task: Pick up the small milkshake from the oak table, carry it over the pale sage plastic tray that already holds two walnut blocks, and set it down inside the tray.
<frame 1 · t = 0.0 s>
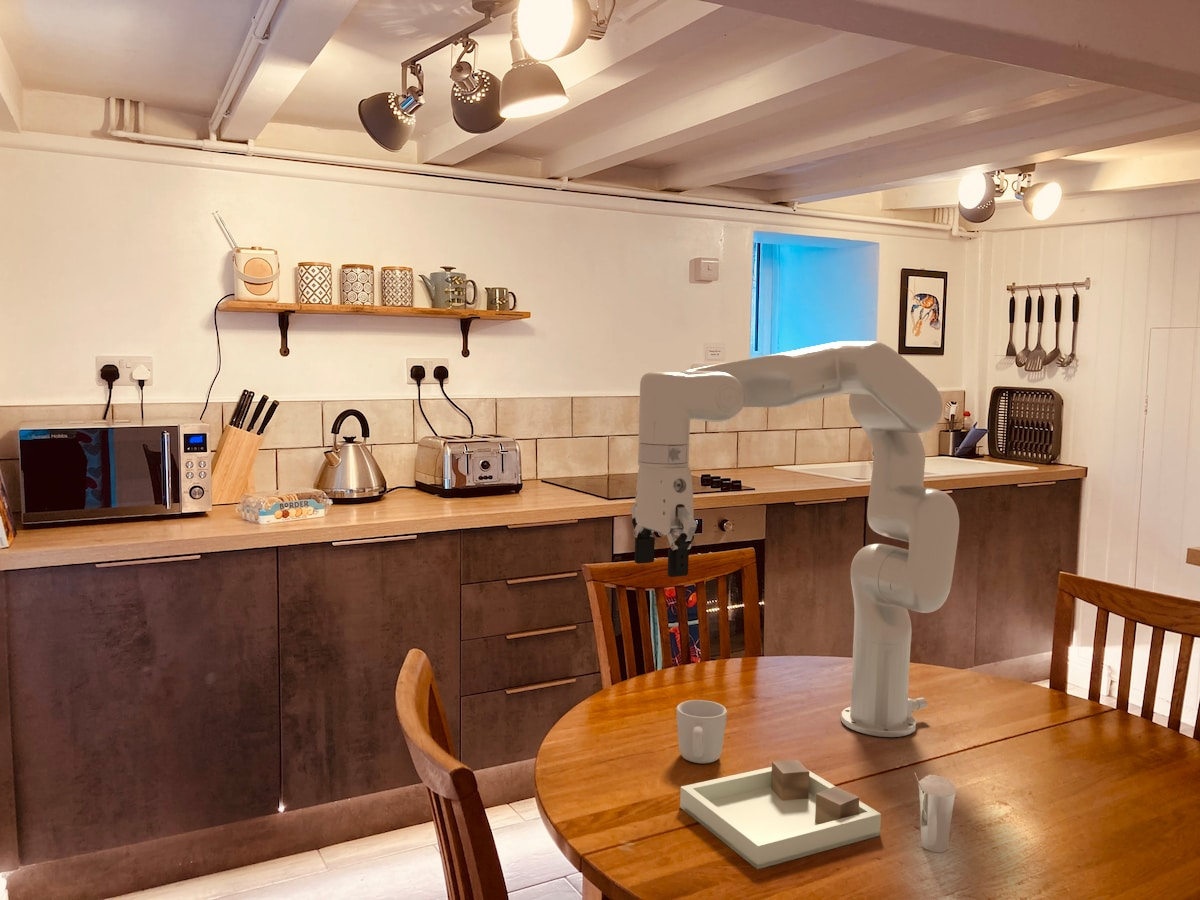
hand: (660, 569, 141), 31 cm above the table, fingers open, 9 cm apart
walnut block b: (789, 793, 135), point 1 cm above the table, touching tray
walnut block a: (836, 824, 126), point 1 cm above the table, touching tray
milkshake: (930, 848, 122), on the table
cup: (699, 762, 147), on the table
tray: (777, 820, 128), on the table
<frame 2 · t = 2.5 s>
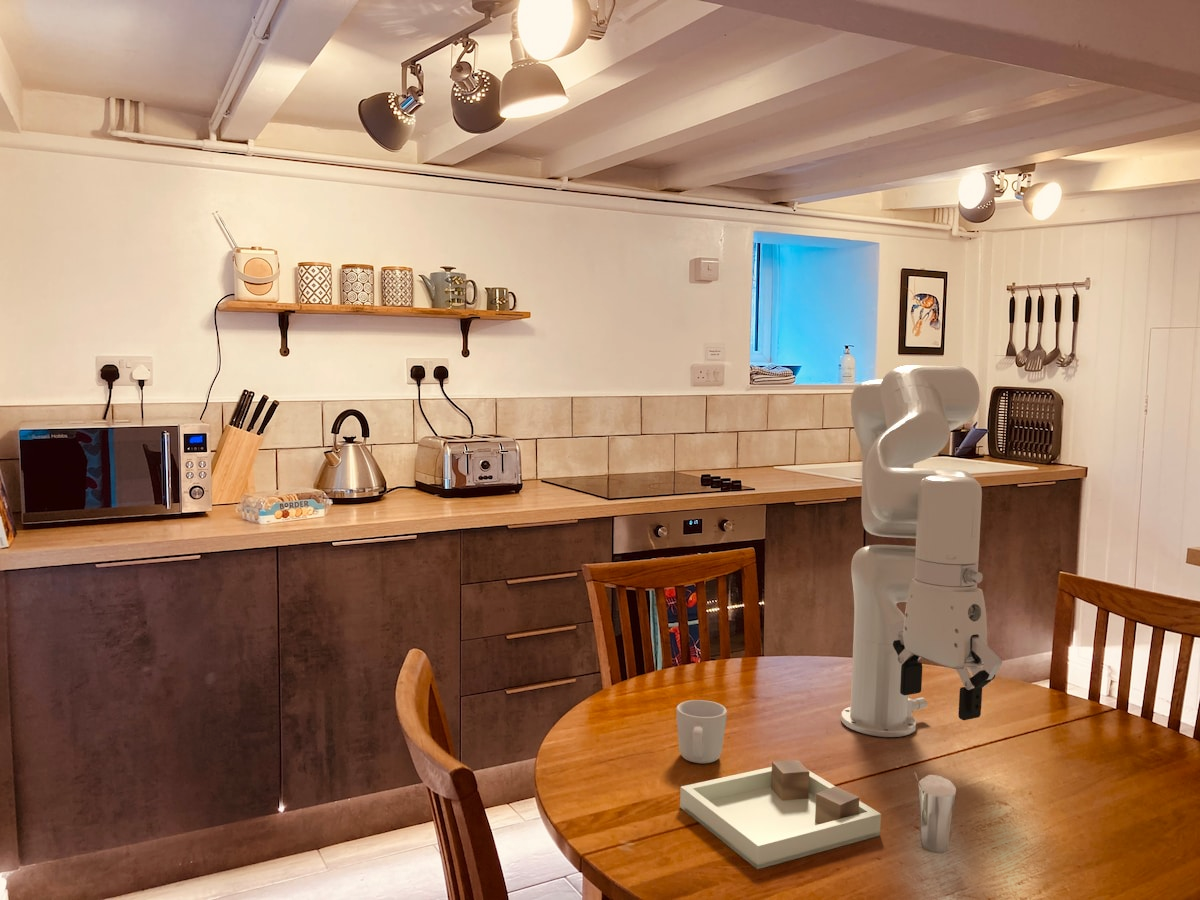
hand: (938, 705, 120), 19 cm above the table, fingers open, 9 cm apart
nothing on the table moved.
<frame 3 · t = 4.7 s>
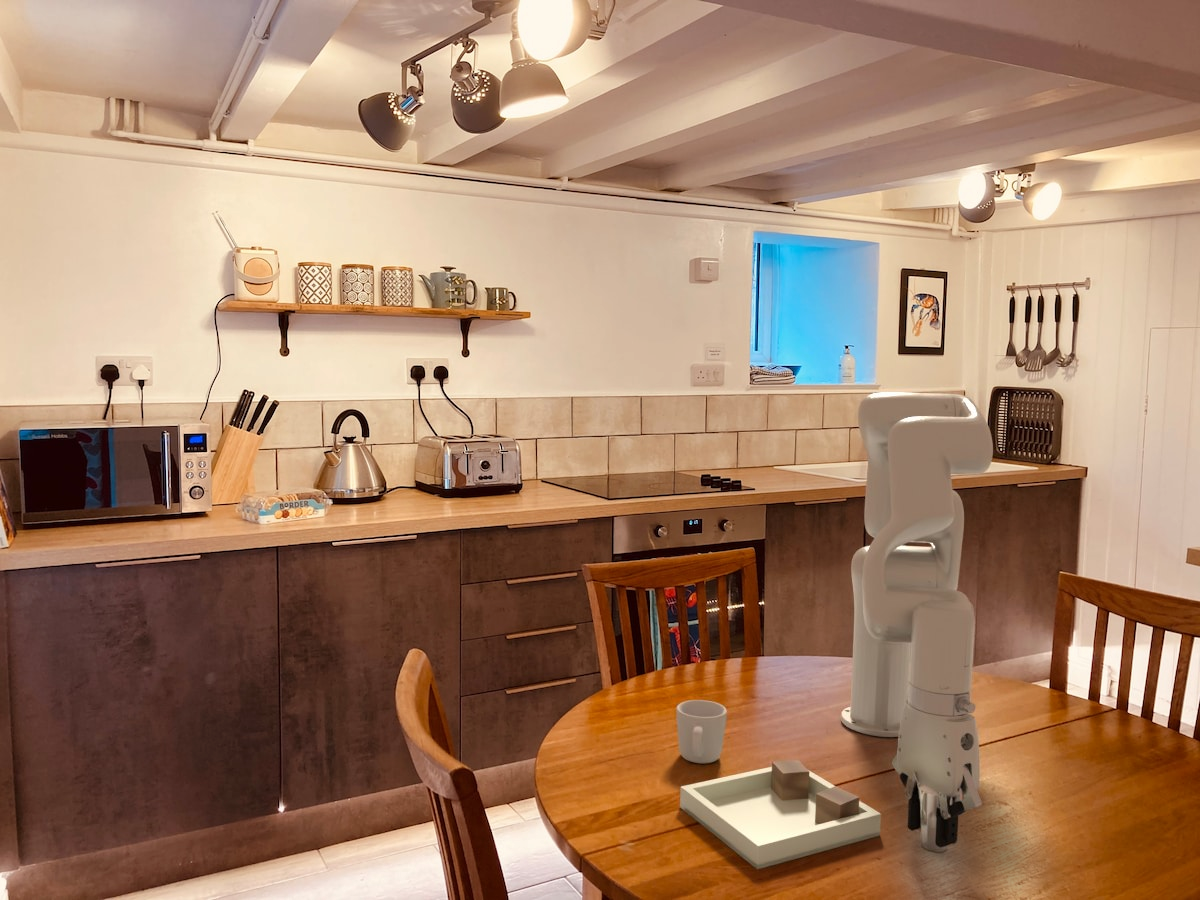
hand: (931, 834, 122), 2 cm above the table, fingers closed on milkshake, 4 cm apart
milkshake: (930, 847, 122), on the table, touching gripper
everything else where it was.
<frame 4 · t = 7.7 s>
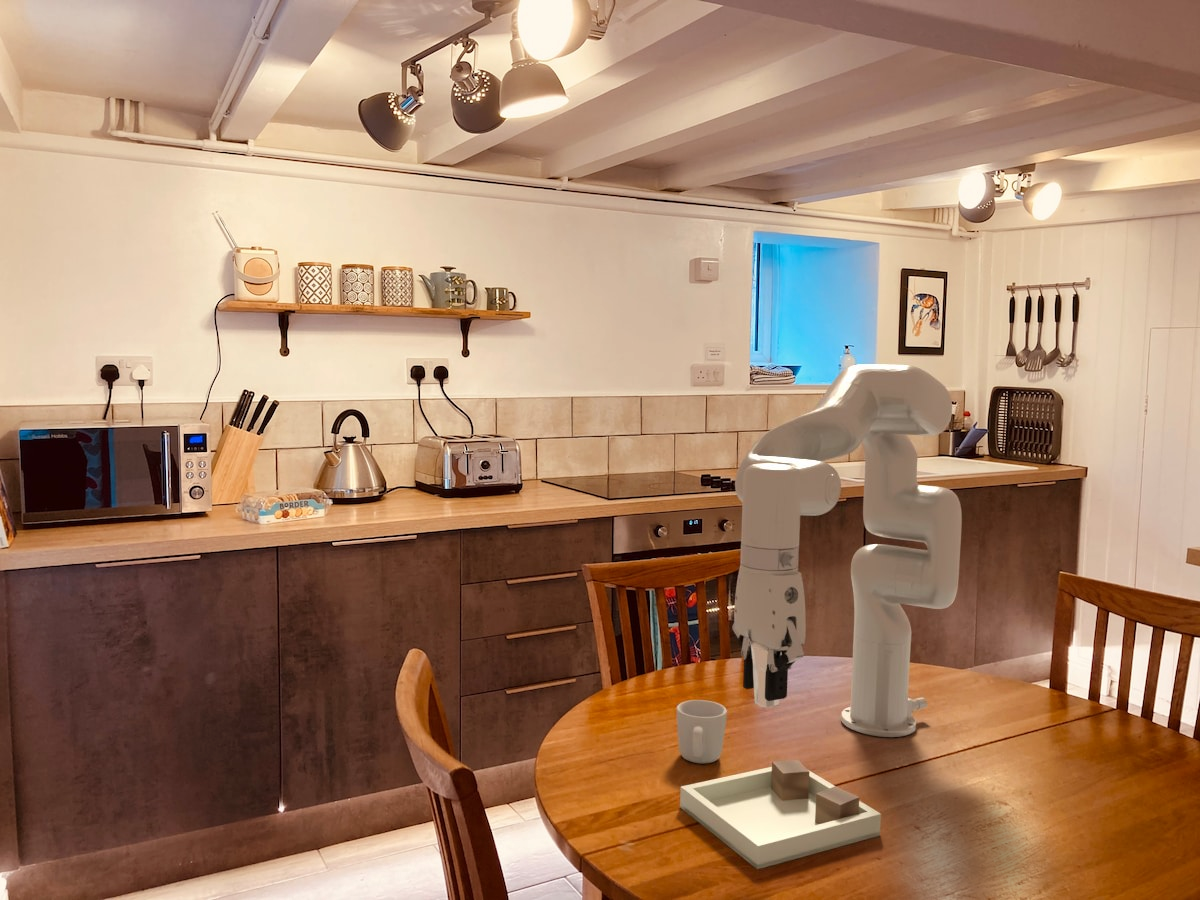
hand: (764, 691, 125), 19 cm above the table, fingers closed on milkshake, 4 cm apart
milkshake: (763, 704, 125), point 17 cm above the table, touching gripper
everything else where it was.
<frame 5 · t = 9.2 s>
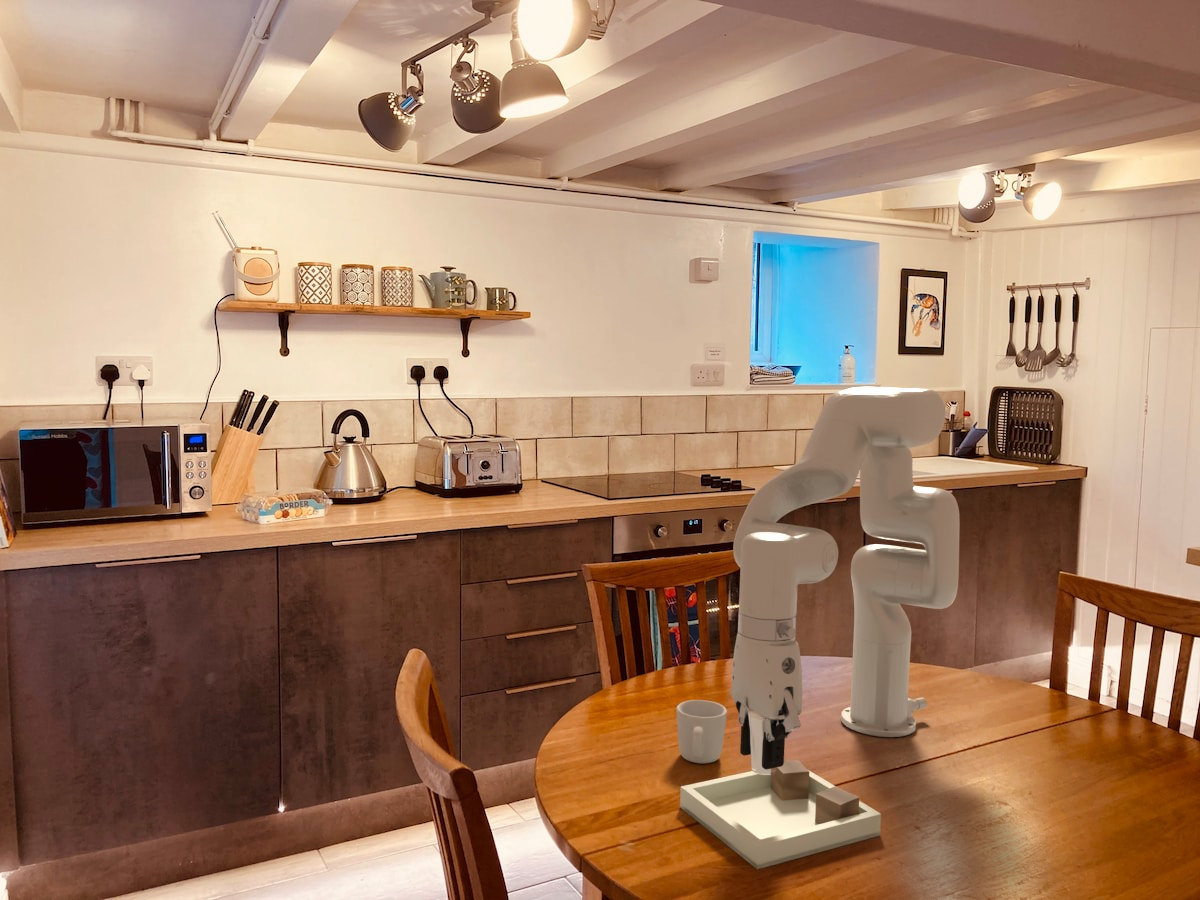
hand: (761, 758, 126), 9 cm above the table, fingers closed on milkshake, 4 cm apart
milkshake: (760, 771, 126), point 8 cm above the table, touching gripper
everything else where it was.
when the fingers open (4 cm above the table, at t = 10.6 s): milkshake drops 1 cm, resting on tray.
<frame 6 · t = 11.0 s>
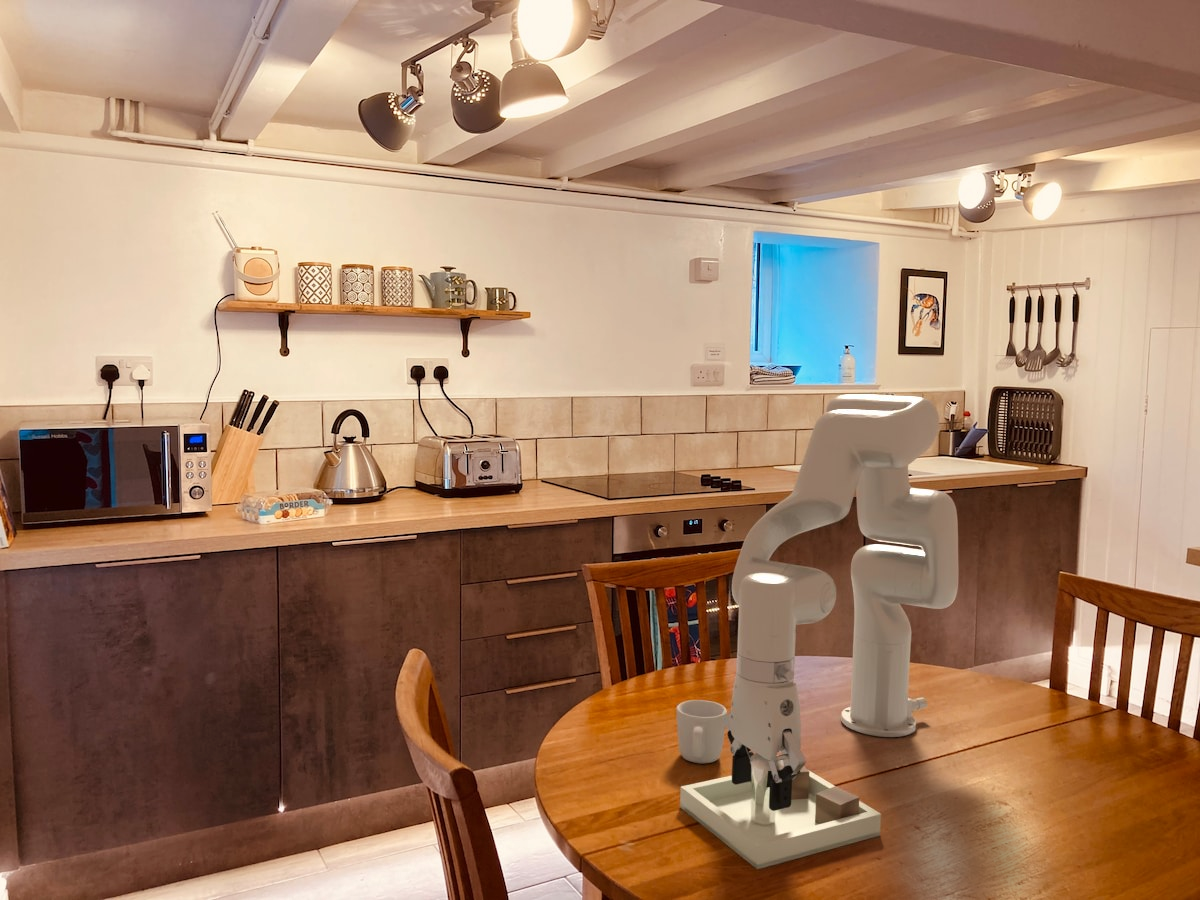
hand: (760, 794, 126), 4 cm above the table, fingers open, 7 cm apart
milkshake: (759, 820, 127), resting on tray
everything else where it was.
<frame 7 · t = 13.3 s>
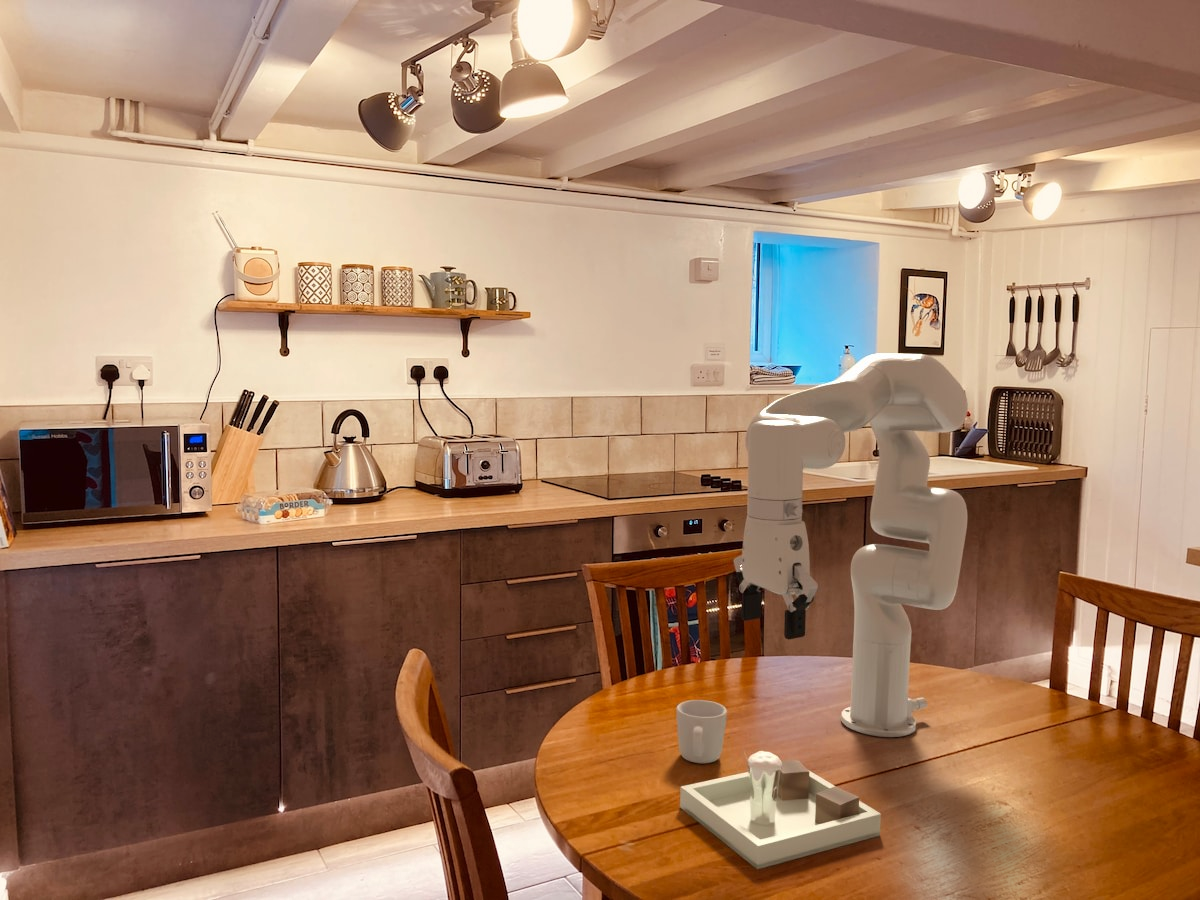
hand: (772, 628, 133), 25 cm above the table, fingers open, 9 cm apart
nothing on the table moved.
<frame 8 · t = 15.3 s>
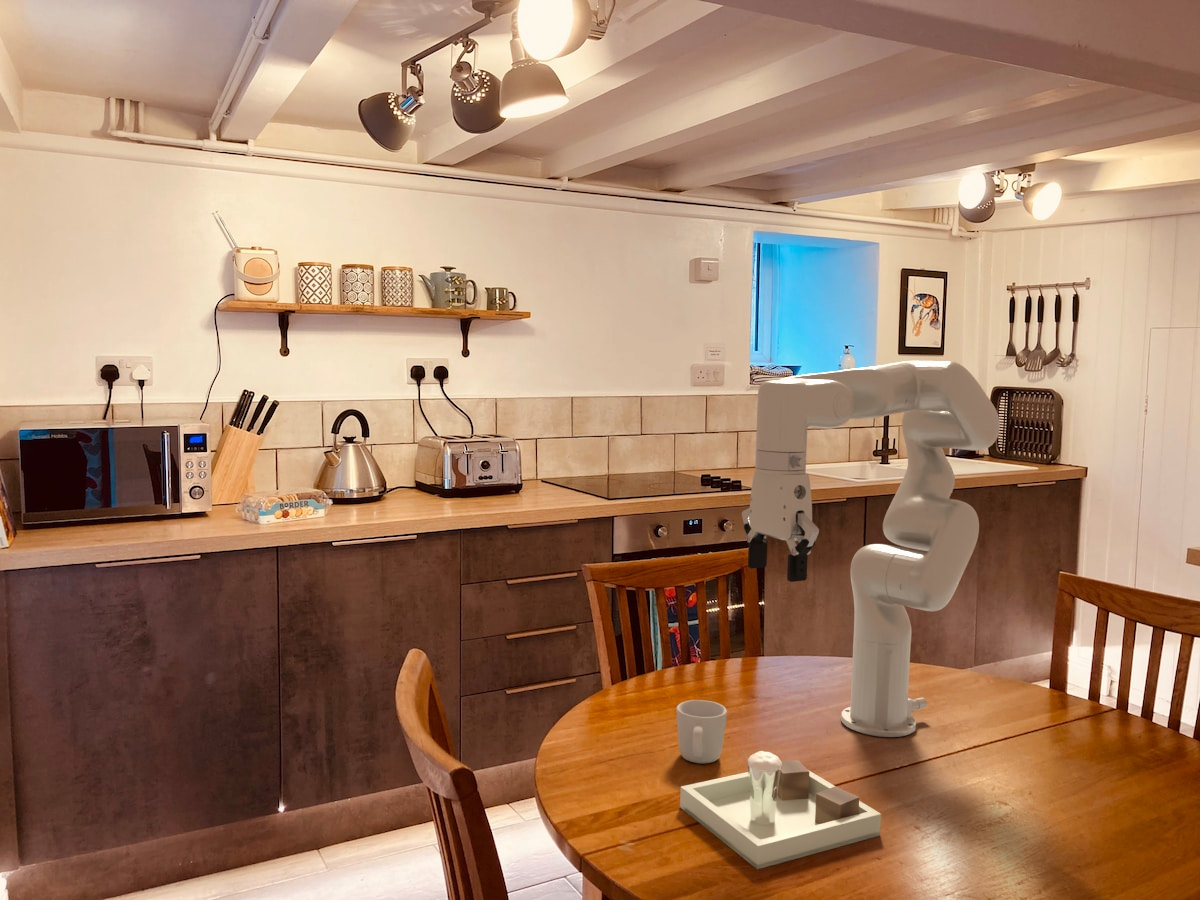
hand: (776, 573, 143), 30 cm above the table, fingers open, 9 cm apart
nothing on the table moved.
at the end: milkshake inside the target area on the tray (2.8 cm from its centre), point 0.4 cm above the tray's base; the gripper is holding nothing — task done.
